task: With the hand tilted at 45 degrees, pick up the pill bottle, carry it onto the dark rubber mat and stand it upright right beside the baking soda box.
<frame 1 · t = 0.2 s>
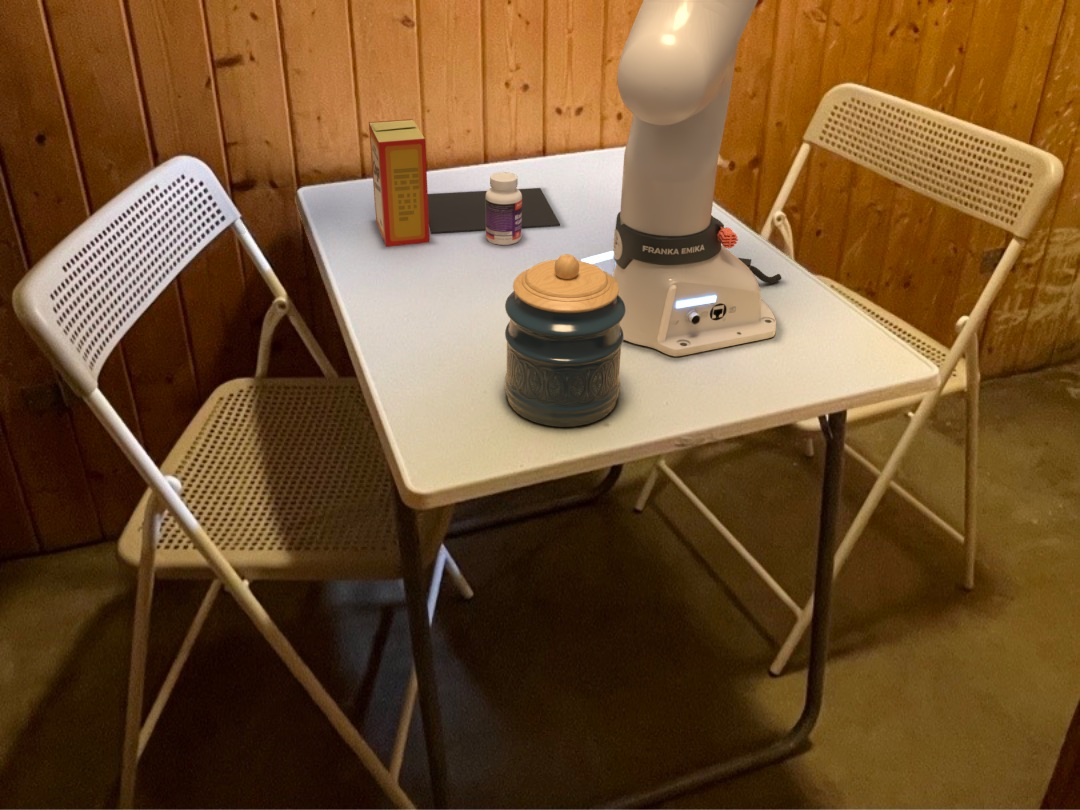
pill bottle: (503, 239, 152), on the table
rubber mat: (488, 210, 161), on the table
canister: (561, 399, 115), on the table
baking soda box: (402, 233, 154), on the table
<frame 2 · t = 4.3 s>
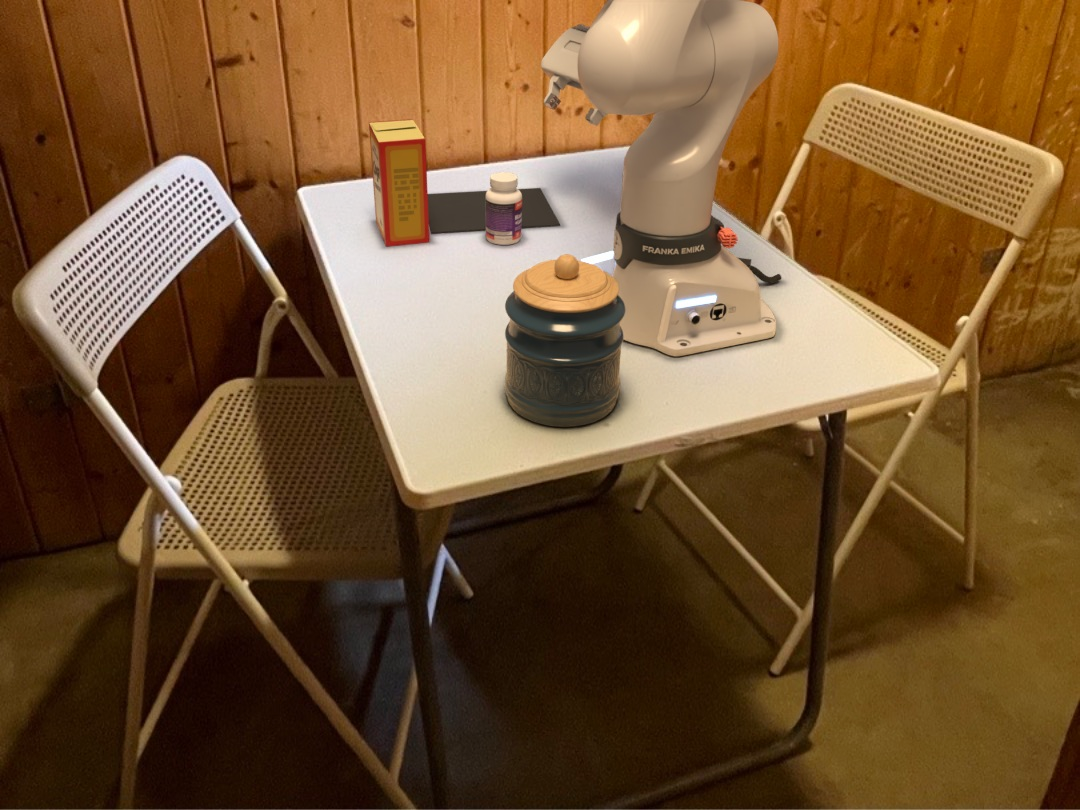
hand: (569, 114, 150), 17 cm above the table, tool tilted 45°, fingers open, 8 cm apart
nothing on the table moved.
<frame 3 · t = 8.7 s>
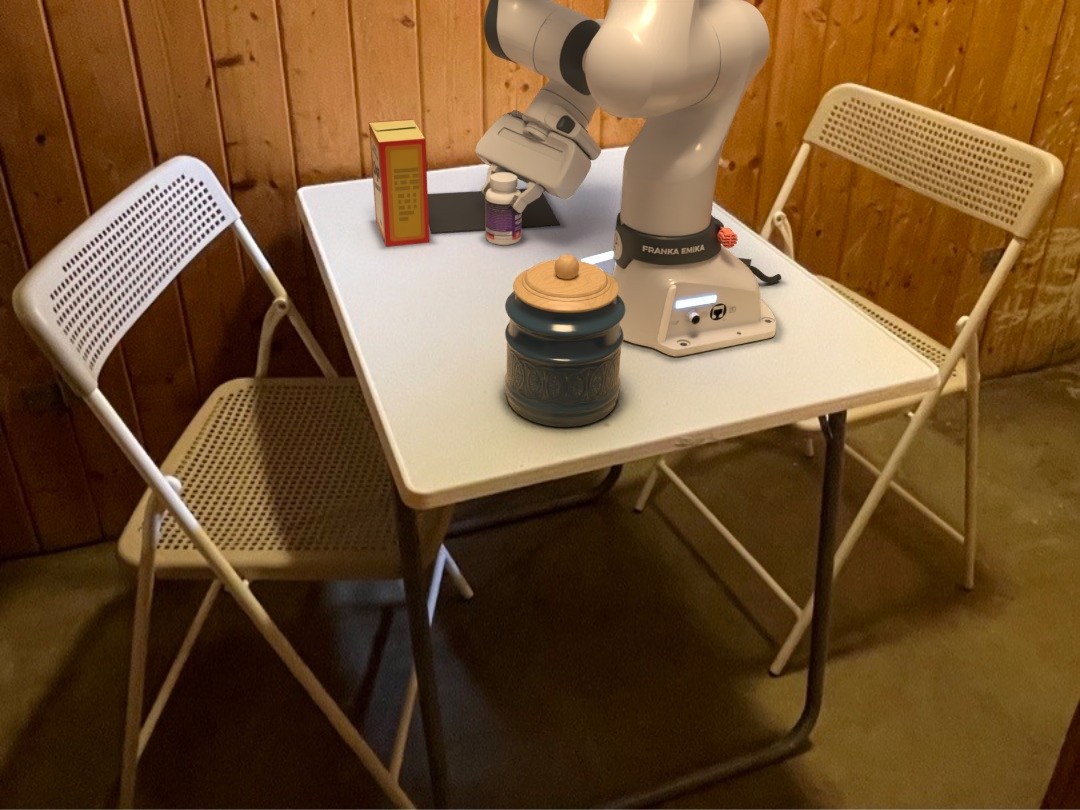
hand: (500, 202, 149), 6 cm above the table, tool tilted 45°, fingers closed on pill bottle, 5 cm apart
pill bottle: (503, 239, 152), on the table, touching gripper
everything else where it was.
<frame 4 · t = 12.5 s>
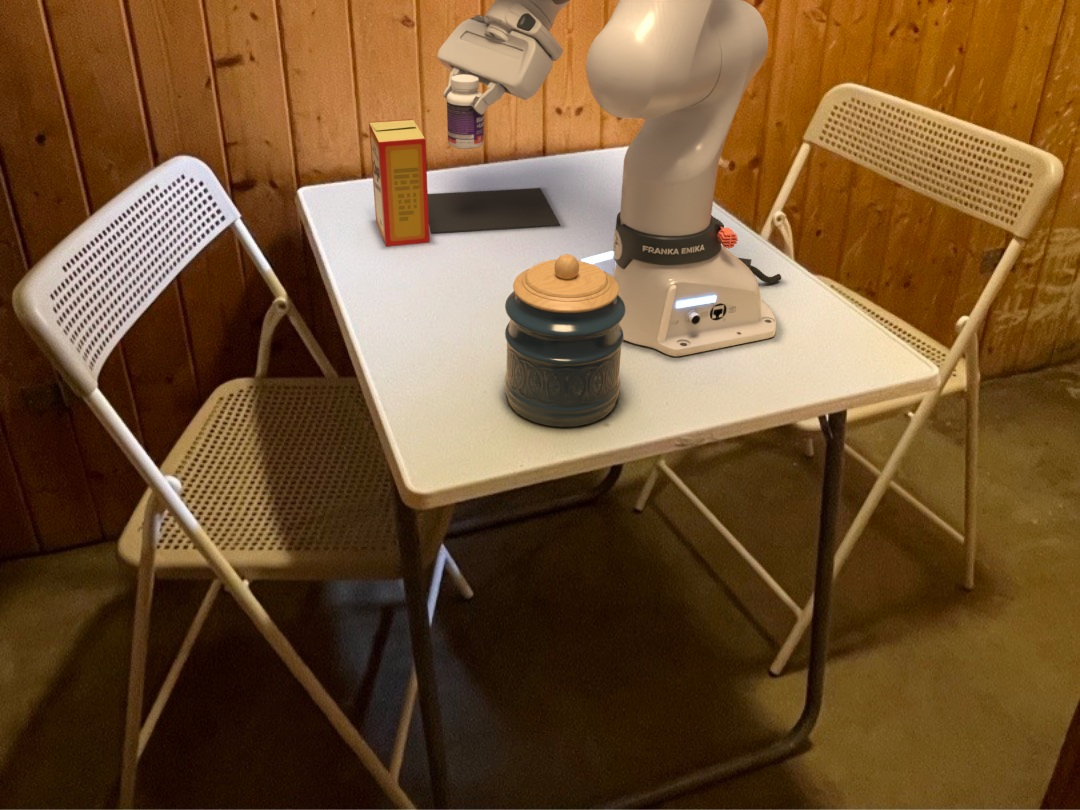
hand: (461, 105, 147), 18 cm above the table, tool tilted 45°, fingers closed on pill bottle, 5 cm apart
pill bottle: (466, 145, 151), point 12 cm above the table, touching gripper
everything else where it was.
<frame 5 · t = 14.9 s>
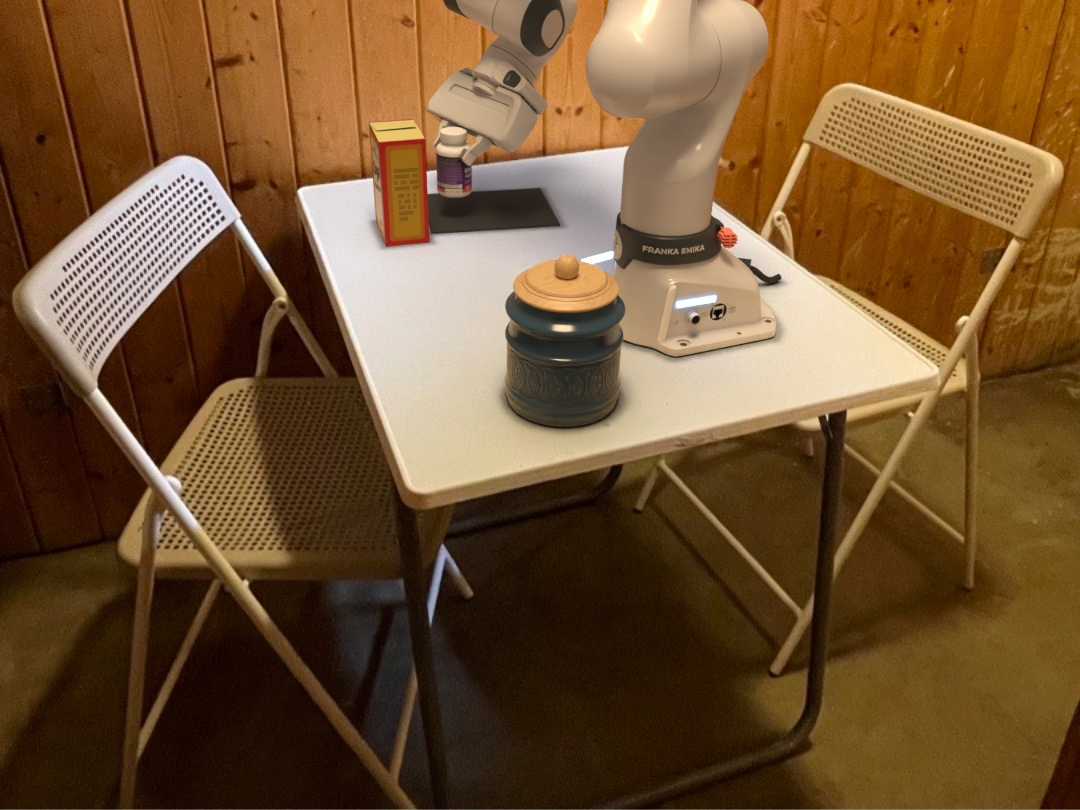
hand: (450, 156, 153), 10 cm above the table, tool tilted 45°, fingers closed on pill bottle, 5 cm apart
pill bottle: (454, 193, 157), point 4 cm above the table, touching gripper
everything else where it was.
when the fingers open (6 cm above the table, at t = 16.5 s): pill bottle stays where it is, resting on rubber mat.
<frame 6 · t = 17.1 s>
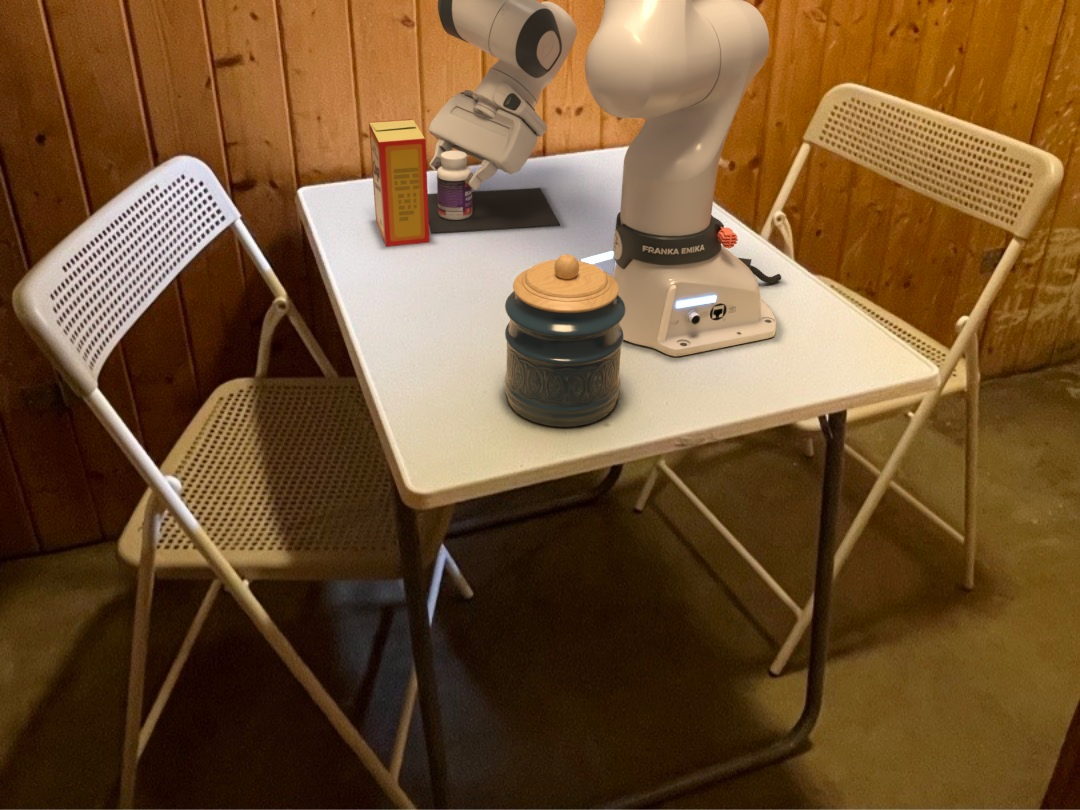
hand: (451, 177, 155), 7 cm above the table, tool tilted 45°, fingers open, 8 cm apart
pill bottle: (455, 215, 159), resting on rubber mat
everything else where it was.
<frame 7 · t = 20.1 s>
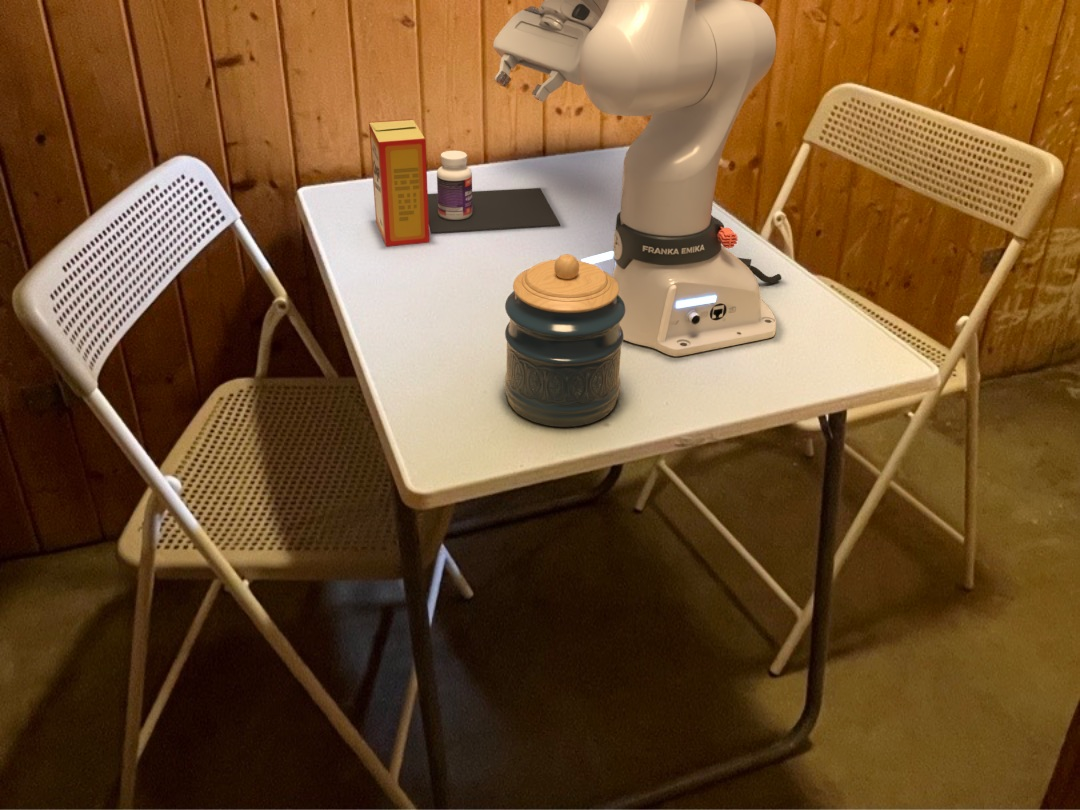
hand: (517, 91, 156), 18 cm above the table, tool tilted 45°, fingers open, 8 cm apart
nothing on the table moved.
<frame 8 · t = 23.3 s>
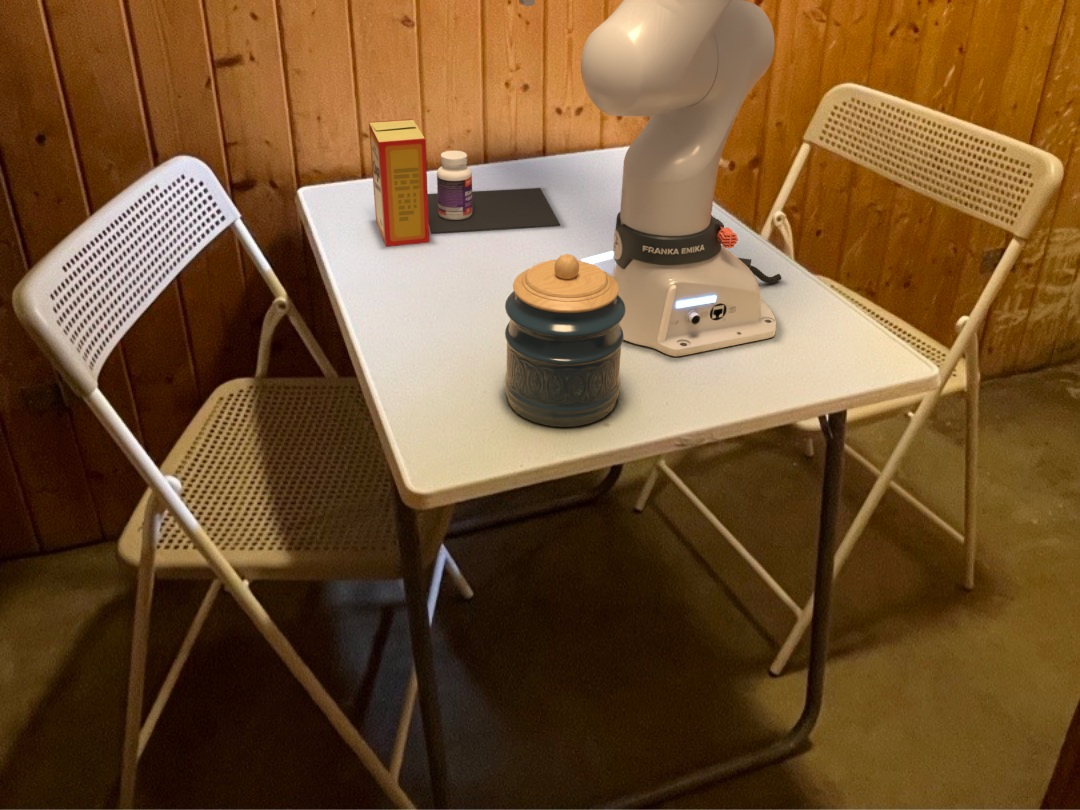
nothing on the table moved.
at the end: pill bottle inside the target area on the rubber mat (5.7 cm from its centre), point 0.1 cm above the rubber mat's base; pill bottle 10.0 cm from the baking soda box (horizontally); pill bottle tilted 0° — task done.
